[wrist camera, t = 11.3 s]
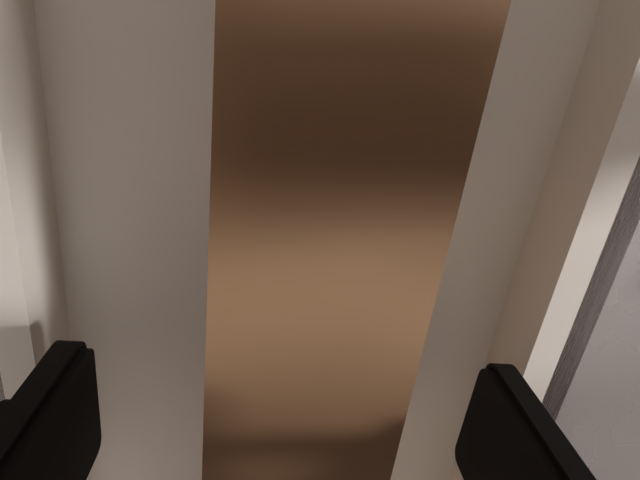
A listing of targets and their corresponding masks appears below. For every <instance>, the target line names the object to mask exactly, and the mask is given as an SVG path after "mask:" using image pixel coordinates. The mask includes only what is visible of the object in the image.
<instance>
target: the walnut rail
mask: <svg viewBox="0 0 640 480" xmlns="http://www.w3.org/2000/svg"><path fill="white" fill-rule="evenodd" d="M510 4H511V0H215V35H214V70H213V105H212V140H211V174H210V209H209V244H208V279H207V314H206V349H205V383H204V418H203V453H202V480H390V479H391V475H392V471H393V467H394V463H395V459H396V455H397V451H398V447H399V443H400V439H401V435H402V431H403V427H404V423H405V420H406V416H407V412H408V408H409V404H410V400H411V396H412V392H413V388H414V384H415V380H416V376H417V372H418V368H419V364H420V360H421V356H422V352H423V348H424V344H425V340H426V336H427V332H428V328H429V325H430V321H431V317H432V313H433V309H434V305H435V301H436V297H437V293H438V289H439V285H440V281H441V277H442V273H443V269H444V265H445V261H446V257H447V253H448V249H449V245H450V241H451V237H452V233H453V230H454V226H455V222H456V218H457V214H458V210H459V206H460V202H461V198H462V194H463V190H464V186H465V182H466V178H467V174H468V170H469V166H470V162H471V158H472V154H473V150H474V146H475V142H476V138H477V135H478V131H479V127H480V123H481V119H482V115H483V111H484V107H485V103H486V99H487V95H488V91H489V87H490V83H491V79H492V75H493V71H494V67H495V63H496V59H497V55H498V51H499V47H500V43H501V40H502V36H503V32H504V28H505V24H506V20H507V16H508V12H509V8H510Z"/></svg>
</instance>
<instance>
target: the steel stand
mask: <svg viewBox="0 0 640 480" xmlns="http://www.w3.org/2000/svg"><path fill="white" fill-rule="evenodd" d="M542 404H543V406H544V407H545V408H546V410H547V411H548V413H549V414H550V415H551V417H552V418H553V420H554V421H555V422H556V424H557V425H558V427H559V428H560V429H561V431H562V432H563V433H564V435H565V436H566V438H567V439H568V440H569V442H570V443H571V445H572V446H573V447H574V449H575V450H576V452H577V453H578V454H579V456H580V457H581V459H582V460H583V461H584V463H585V464H586V466H587V467H588V468H589V470H590V471H591V472H592V474H593V475H594V477H595V478H596V479H597V480H640V156H639V159H638V161H637V164H636V166H635V169H634V171H633V174H632V176H631V179H630V181H629V184H628V187H627V189H626V192H625V194H624V197H623V199H622V202H621V204H620V207H619V209H618V212H617V214H616V217H615V219H614V222H613V224H612V227H611V229H610V232H609V234H608V237H607V240H606V242H605V245H604V247H603V250H602V252H601V255H600V257H599V260H598V262H597V265H596V267H595V270H594V272H593V275H592V277H591V280H590V282H589V285H588V287H587V290H586V293H585V295H584V298H583V300H582V303H581V305H580V308H579V310H578V313H577V315H576V318H575V320H574V323H573V325H572V328H571V330H570V333H569V335H568V338H567V340H566V343H565V345H564V348H563V351H562V353H561V356H560V358H559V361H558V363H557V366H556V368H555V371H554V373H553V376H552V378H551V381H550V383H549V386H548V388H547V391H546V393H545V396H544V398H543V401H542Z"/></svg>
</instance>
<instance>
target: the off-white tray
mask: <svg viewBox="0 0 640 480" xmlns="http://www.w3.org/2000/svg"><path fill="white" fill-rule="evenodd" d="M214 35H215V0H0V374H1V380H2V385H3V390H4V396H5V399H11V398H12V396H13V395H14V394H15V393H16V391H17V390H18V389H19V387H20V386H21V385H22V383H23V382H24V381H25V379H26V378H27V377H28V376H29V374H30V373H31V372H32V370H33V369H34V368H35V366H36V365H37V364H38V362H39V361H40V360H41V359H42V357H43V356H44V355H45V353H46V352H47V351H48V349H49V348H50V347H51V345H52V344H53V343H54V342H55V341H57V340H66V341H83V342H85V343H86V346H87V348H92V349H93V350H94V354H95V365H96V376H97V388H98V400H99V411H100V423H101V435H102V439H101V445H100V449H99V452H98V455H97V457H96V459H95V462H94V464H93V466H92V468H91V471H90V473H89V475H88V477H87V479H86V480H202V453H203V418H204V383H205V349H206V314H207V279H208V244H209V209H210V174H211V140H212V105H213V70H214ZM639 156H640V0H511V4H510V8H509V12H508V16H507V20H506V24H505V28H504V32H503V36H502V40H501V43H500V47H499V51H498V55H497V59H496V63H495V67H494V71H493V75H492V79H491V83H490V87H489V91H488V95H487V99H486V103H485V107H484V111H483V115H482V119H481V123H480V127H479V131H478V135H477V138H476V142H475V146H474V150H473V154H472V158H471V162H470V166H469V170H468V174H467V178H466V182H465V186H464V190H463V194H462V198H461V202H460V206H459V210H458V214H457V218H456V222H455V226H454V230H453V233H452V237H451V241H450V245H449V249H448V253H447V257H446V261H445V265H444V269H443V273H442V277H441V281H440V285H439V289H438V293H437V297H436V301H435V305H434V309H433V313H432V317H431V321H430V325H429V328H428V332H427V336H426V340H425V344H424V348H423V352H422V356H421V360H420V364H419V368H418V372H417V376H416V380H415V384H414V388H413V392H412V396H411V400H410V404H409V408H408V412H407V416H406V420H405V423H404V427H403V431H402V435H401V439H400V443H399V447H398V451H397V455H396V459H395V463H394V467H393V471H392V475H391V479H390V480H463V477H462V475H461V472H460V470H459V468H458V465H457V462H456V459H455V446H456V443H457V440H458V437H459V433H460V430H461V427H462V424H463V421H464V418H465V415H466V411H467V408H468V405H469V402H470V399H471V396H472V393H473V389H474V386H475V383H476V380H477V377H478V374H479V371H480V370H481V369H485V368H486V366H487V365H488V364H489V363H500V364H512V365H514V366H515V367H516V368H517V369H518V371H519V372H520V374H521V375H522V376H523V378H524V379H525V381H526V382H527V383H528V385H529V386H530V388H531V389H532V390H533V392H534V393H535V395H536V396H537V397H538V399H539V400H540V401H541V403H542V401H543V398H544V396H545V393H546V391H547V388H548V386H549V383H550V381H551V378H552V376H553V373H554V371H555V368H556V366H557V363H558V361H559V358H560V356H561V353H562V351H563V348H564V345H565V343H566V340H567V338H568V335H569V333H570V330H571V328H572V325H573V323H574V320H575V318H576V315H577V313H578V310H579V308H580V305H581V303H582V300H583V298H584V295H585V293H586V290H587V287H588V285H589V282H590V280H591V277H592V275H593V272H594V270H595V267H596V265H597V262H598V260H599V257H600V255H601V252H602V250H603V247H604V245H605V242H606V240H607V237H608V234H609V232H610V229H611V227H612V224H613V222H614V219H615V217H616V214H617V212H618V209H619V207H620V204H621V202H622V199H623V197H624V194H625V192H626V189H627V187H628V184H629V181H630V179H631V176H632V174H633V171H634V169H635V166H636V164H637V161H638V159H639Z"/></svg>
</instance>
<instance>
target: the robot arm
mask: <svg viewBox="0 0 640 480" xmlns="http://www.w3.org/2000/svg"><path fill="white" fill-rule="evenodd" d="M101 439H102V435H101V423H100V411H99V400H98V388H97V376H96V365H95V354H94V350H93V349H92V348H87V346H86V343H85V342H83V341H66V340H57V341H55V342H54V343H53V344H52V345H51V347H50V348H49V349H48V351H47V352H46V353H45V355H44V356H43V357H42V359H41V360H40V361H39V362H38V364H37V365H36V366H35V368H34V369H33V370H32V372H31V373H30V374H29V376H28V377H27V378H26V379H25V381H24V382H23V383H22V385H21V386H20V387H19V389H18V390H17V391H16V393H15V394H14V395H13V396H12V398H11V399H5V400H3V401H1V402H0V480H86V479H87V477H88V475H89V473H90V471H91V468H92V466H93V464H94V462H95V459H96V457H97V455H98V452H99V449H100V445H101ZM455 459H456V462H457V465H458V468H459V470H460V472H461V475H462V477H463V480H597V479H596V478H595V477H594V475H593V474H592V472H591V471H590V470H589V468H588V467H587V466H586V464H585V463H584V461H583V460H582V459H581V457H580V456H579V454H578V453H577V452H576V450H575V449H574V447H573V446H572V445H571V443H570V442H569V440H568V439H567V438H566V436H565V435H564V433H563V432H562V431H561V429H560V428H559V427H558V425H557V424H556V422H555V421H554V420H553V418H552V417H551V415H550V414H549V413H548V411H547V410H546V408H545V407H544V406H543V404H542V403H541V401H540V400H539V399H538V397H537V396H536V395H535V393H534V392H533V390H532V389H531V388H530V386H529V385H528V383H527V382H526V381H525V379H524V378H523V376H522V375H521V374H520V372H519V371H518V369H517V368H516V367H515V366H514V365H512V364H500V363H489V364H488V365H487V366H486V368H485V369H481V370H480V371H479V374H478V377H477V380H476V383H475V386H474V389H473V393H472V396H471V399H470V402H469V405H468V408H467V411H466V415H465V418H464V421H463V424H462V427H461V430H460V433H459V437H458V440H457V443H456V446H455Z"/></svg>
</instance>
